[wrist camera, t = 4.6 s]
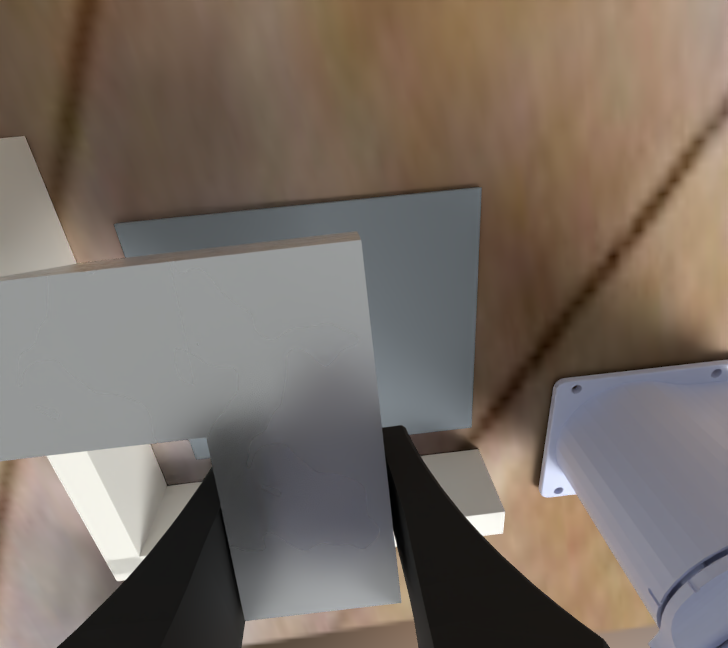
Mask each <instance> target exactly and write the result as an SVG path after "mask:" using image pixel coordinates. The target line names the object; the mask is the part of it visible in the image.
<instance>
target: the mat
mask: <svg viewBox="0 0 728 648" xmlns="http://www.w3.org/2000/svg"><path fill="white" fill-rule="evenodd" d="M481 190H482V188H481V187H474V188H464V189H454V190H444V191H434V192H424V193H414V194H403V195H393V196H383V197H373V198H363V199H353V200H343V201H333V202H323V203H313V204H303V205H293V206H283V207H273V208H263V209H253V210H243V211H233V212H223V213H213V214H203V215H193V216H183V217H173V218H163V219H153V220H143V221H133V222H123V223H116V224H114V227H115V229H116V232H117V235H118V238H119V241H120V244H121V247H122V249H123V252H124V255H125V258H127V257H136V256H145V255H154V254H162V253H171V252H180V251H189V250H197V249H206V248H215V247H224V246H232V245H241V244H250V243H259V242H267V241H276V240H285V239H294V238H302V237H311V236H320V235H329V234H337V233H346V232H355V231H357V232H358V234H359V236H360V238H361V243H362V252H363V261H364V270H365V279H366V288H367V297H368V306H369V315H370V324H371V333H372V342H373V351H374V360H375V369H376V378H377V387H378V396H379V405H380V414H381V423H382V428H383V427H391V426H398V425H402V426H404V427H405V428H406V430H407V432H408V434H409V435H411V434H420V433H429V432H437V431H446V430H454V429H463V428H471V426H472V403H473V379H474V355H475V332H476V308H477V285H478V261H479V238H480V214H481ZM189 441H190V444H191V446H192V449H193V452H194V455H195V458H196V460H197V459H206V458H210V453H209V449H208V444H207V439H206V437H205V438H197V439H189Z"/></svg>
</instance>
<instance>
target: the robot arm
mask: <svg viewBox="0 0 728 648" xmlns="http://www.w3.org/2000/svg"><path fill="white" fill-rule="evenodd" d="M576 385H577V387H576V388H574V389H572V388H573V387H574V386H576ZM382 432H383V442H384V451H385V460H386V469H387V478H388V487H389V496H390V505H391V514H392V523H393V531H394V536H395V540H396V544H397V548H398V552H399V556H400V560H401V564H402V569H403V573H404V577H405V581H406V585H407V589H408V593H409V597H410V602H411V607H412V612H413V616H414V622H415V628H416V634H417V640H418V647H419V648H610V647H609V646H608V644H607V643H606V642H605V641H604V639H603V638H601V637H600V636H598V635H597V634H596V633H594V632H593V631H592V630H590V629H589V628H588V627H586V626H585V625H584V624H582V623H581V622H580V621H578V620H577V619H576V618H574V617H573V616H572V615H570V614H569V613H568V612H567V611H565V610H564V609H563V608H561V607H560V606H559V605H558V604H556V603H555V602H554V601H553V600H552V599H550V598H549V597H548V596H547V595H546V594H544V593H543V592H542V591H541V590H540V589H538V588H537V587H536V586H535V585H534V584H533V583H531V582H530V581H529V580H528V579H527V578H526V577H525V576H524V575H523V574H522V573H520V572H519V571H518V570H517V569H516V568H515V567H514V566H513V565H512V564H511V563H509V562H508V561H507V560H506V559H505V558H504V557H503V556H502V555H501V554H500V553H499V552H498V551H497V550H496V549H495V548H494V547H493V546H492V545H491V544H490V543H489V542H488V541H487V540H486V539H485V538H484V537H483V536H482V535H481V534H480V533H479V531H478V530H477V529H476V528H475V527H474V526H473V525H472V524H471V523H470V522H469V520H468V519H467V518H466V517H465V516H464V515H463V513H462V512H461V511H460V510H459V509H458V507H457V506H456V505H455V504H454V502H453V501H452V500H451V499H450V497H449V496H448V495H447V494H446V492H445V491H444V490H443V488H442V487H441V486H440V484H439V483H438V481H437V480H436V479H435V477H434V476H433V474H432V473H431V471H430V470H429V469H428V467H427V466H426V464H425V462H424V461H423V459H422V458H421V456H420V454H419V453H418V451H417V449H416V448H415V446H414V444H413V442H412V440H411V438H410V436H409V434H408V432H407V430H406V428H405V427H404V426H402V425H398V426H391V427H383V428H382ZM539 491H540V493H541V495H542V496H543V497H556V496H564V495H573V494H577V496H578V498H579V499H580V501H581V503H582V504H583V506H584V507H585V509H586V511H587V512H588V514H589V515H590V517H591V519H592V520H593V522H594V524H595V525H596V527H597V528H598V530H599V532H600V533H601V535H602V537H603V538H604V540H605V541H606V543H607V545H608V546H609V548H610V550H611V551H612V553H613V554H614V556H615V558H616V559H617V561H618V562H619V564H620V566H621V567H622V569H623V571H624V572H625V574H626V575H627V577H628V579H629V580H630V582H631V584H632V585H633V587H634V588H635V590H636V592H637V593H638V595H639V597H640V598H641V600H642V601H643V603H644V605H645V606H646V608H647V609H648V611H649V613H650V614H651V616H652V618H653V619H654V621H655V622H656V624H657V626H658V627H659V631H658V633H657V634H656V635H655V636H654V638H652V639H651V640H650V641H649V643H648V645H649V646H650V648H728V360H719V361H711V362H702V363H693V364H684V365H675V366H667V367H658V368H649V369H640V370H632V371H623V372H614V373H605V374H596V375H588V376H579V377H570V378H563V379H560V380H559V381H557V382H556V383H555V384H554V387H553V393H552V400H551V407H550V413H549V420H548V427H547V434H546V441H545V448H544V454H543V461H542V468H541V475H540V482H539ZM244 625H245V619H244V614H243V609H242V604H241V600H240V595H239V590H238V586H237V581H236V576H235V571H234V567H233V562H232V557H231V552H230V548H229V543H228V538H227V534H226V529H225V524H224V519H223V515H222V510H221V505H220V501H219V496H218V491H217V486H216V482H215V477H214V472H213V468H211V469H210V471H209V472H208V474H207V475H206V477H205V478H204V480H203V481H202V483H201V484H200V486H199V487H198V489H197V490H196V492H195V493H194V494H193V496H192V497H191V499H190V500H189V501H188V503H187V504H186V506H185V507H184V508H183V510H182V511H181V513H180V514H179V515H178V517H177V518H176V519H175V521H174V522H173V523H172V525H171V526H170V527H169V528H168V530H167V531H166V532H165V534H164V535H163V536H162V537H161V539H160V540H159V541H158V542H157V544H156V545H155V546H154V548H153V549H152V550H151V551H150V552H149V554H148V555H147V556H146V557H145V558H144V560H143V561H142V562H141V563H140V564H139V565H138V566H137V568H136V569H135V570H134V571H133V572H132V573H131V574H130V575H129V577H128V578H127V579H126V580H125V581H124V582H123V583H122V584H121V585H120V586H119V588H118V589H117V590H116V591H115V592H114V593H113V594H112V595H111V596H110V597H109V598H108V599H107V600H106V601H105V602H104V603H103V604H102V605H101V606H100V607H99V608H98V609H97V610H96V611H95V612H94V613H93V614H92V615H91V616H90V617H89V618H88V619H87V620H86V621H85V622H84V623H83V624H82V625H81V626H80V627H79V628H78V629H77V630H76V631H74V632H73V633H72V634H71V635H70V636H69V637H68V638H67V639H66V640H65V641H64V642H62V643H61V644H60V645H59V646H58V647H57V648H241V647H242V639H243V632H244Z"/></svg>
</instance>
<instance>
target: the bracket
mask: <svg viewBox="0 0 728 648" xmlns="http://www.w3.org/2000/svg"><path fill="white" fill-rule="evenodd" d="M205 437H206V439H207V444H208V449H209V453H210V458H211V463H212V468H213V472H214V477H215V482H216V486H217V491H218V496H219V501H220V505H221V510H222V515H223V519H224V524H225V529H226V534H227V538H228V543H229V548H230V552H231V557H232V562H233V567H234V571H235V576H236V581H237V586H238V590H239V595H240V600H241V604H242V609H243V614H244V619H245V621H249V620H258V619H266V618H275V617H283V616H292V615H301V614H309V613H318V612H326V611H335V610H343V609H352V608H361V607H369V606H378V605H386V604H395V603H401V595H400V586H399V577H398V568H397V559H396V550H395V541H394V532H393V523H392V514H391V505H390V496H389V487H388V478H387V469H386V460H385V451H384V442H383V432H382V423H381V414H380V405H379V396H378V387H377V378H376V369H375V360H374V351H373V342H372V333H371V324H370V315H369V306H368V297H367V288H366V279H365V270H364V261H363V252H362V243H361V238H360V236H359V234H358V232H357V231H355V232H346V233H337V234H329V235H320V236H311V237H302V238H294V239H285V240H276V241H267V242H259V243H250V244H241V245H232V246H224V247H215V248H206V249H197V250H189V251H180V252H171V253H162V254H154V255H145V256H136V257H127V258H119V259H110V260H101V261H92V262H84V263H77V264H71V265H65V266H60V267H54V268H48V269H42V270H36V271H30V272H24V273H19V274H13V275H7V276H1V277H0V461H6V460H15V459H23V458H32V457H41V456H49V455H58V454H67V453H75V452H84V451H93V450H101V449H110V448H119V447H127V446H136V445H145V444H153V443H162V442H171V441H179V440H188V439H197V438H205Z"/></svg>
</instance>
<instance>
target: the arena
mask: <svg viewBox="0 0 728 648" xmlns="http://www.w3.org/2000/svg"><path fill="white" fill-rule="evenodd" d="M71 264H77V263H76V261H75V258H74V256H73V253H72V251H71V248H70V246H69V243H68V241H67V238H66V236H65V233H64V231H63V229H62V226H61V224H60V221H59V219H58V216H57V214H56V211H55V209H54V206H53V204H52V202H51V199H50V197H49V194H48V192H47V189H46V187H45V184H44V182H43V179H42V177H41V175H40V172H39V170H38V167H37V165H36V162H35V160H34V157H33V155H32V152H31V150H30V147H29V145H28V143H27V140H26V138H25V136H20V137H9V138H0V277H1V276H7V275H13V274H19V273H24V272H30V271H36V270H42V269H48V268H54V267H60V266H65V265H71ZM47 458H48V460H49V461H50V463H51V465H52V467H53V468H54V470H55V472H56V474H57V476H58V477H59V479H60V481H61V483H62V484H63V486H64V488H65V490H66V492H67V493H68V495H69V497H70V499H71V500H72V502H73V504H74V506H75V508H76V509H77V511H78V513H79V515H80V517H81V518H82V520H83V522H84V524H85V525H86V527H87V529H88V531H89V533H90V534H91V536H92V538H93V540H94V541H95V543H96V545H97V547H98V549H99V550H100V552H101V554H102V556H103V557H104V559H105V561H106V563H107V565H108V566H109V568H110V570H111V572H112V573H113V575H114V577H115V579H116V581H123V580H126V579H127V578H128V577H129V575H130V574H131V573H132V572H133V571H134V570H135V569H136V568H137V566H138V565H139V564H140V563H141V562H142V561H143V560H144V558H145V557H146V556H147V555H148V554H149V552H150V551H151V550H152V549H153V548H154V546H155V545H156V544H157V542H158V541H159V540H160V539H161V537H162V536H163V535H164V534H165V532H166V531H167V530H168V528H169V527H170V526H171V525H172V523H173V522H174V521H175V519H176V518H177V517H178V515H179V514H180V513H181V511H182V510H183V508H184V507H185V506H186V504H187V503H188V501H189V500H190V499H191V497H192V496H193V494H194V493H195V492H196V490H197V489H198V487H199V486H200V484H201V483H202V482H196V483H187V484H179V485H171V486H167V484H166V482H165V479H164V477H163V474H162V472H161V469H160V467H159V464H158V462H157V460H156V457H155V455H154V452H153V450H152V447H151V445H150V444H145V445H136V446H127V447H119V448H110V449H101V450H93V451H84V452H75V453H67V454H58V455H49V456H47ZM421 458H422V459H423V461H424V462H425V464H426V466H427V467H428V469H429V470H430V471H431V473H432V474H433V476H434V477H435V479H436V480H437V481H438V483H439V484H440V486H441V487H442V488H443V490H444V491H445V492H446V494H447V495H448V496H449V497H450V499H451V500H452V501H453V502H454V504H455V505H456V506H457V507H458V509H459V510H460V511H461V512H462V513H463V515H464V516H465V517H466V518H467V519H468V520H469V522H470V523H471V524H472V525H473V526H474V527H475V528H476V529H477V530H478V531H479V533H480V534H481V535H482V536H486V535H494V534H502V533H503V528H504V518H505V510H504V508H503V506H502V503H501V501H500V499H499V496H498V494H497V491H496V489H495V487H494V484H493V482H492V480H491V477H490V475H489V473H488V470H487V468H486V466H485V463H484V461H483V458H482V456H481V454H480V451H479V449H475V450H467V451H458V452H450V453H441V454H433V455H424V456H421ZM393 532H394V531H393ZM394 541H395V547H397V544H396V540H395V536H394Z"/></svg>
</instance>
